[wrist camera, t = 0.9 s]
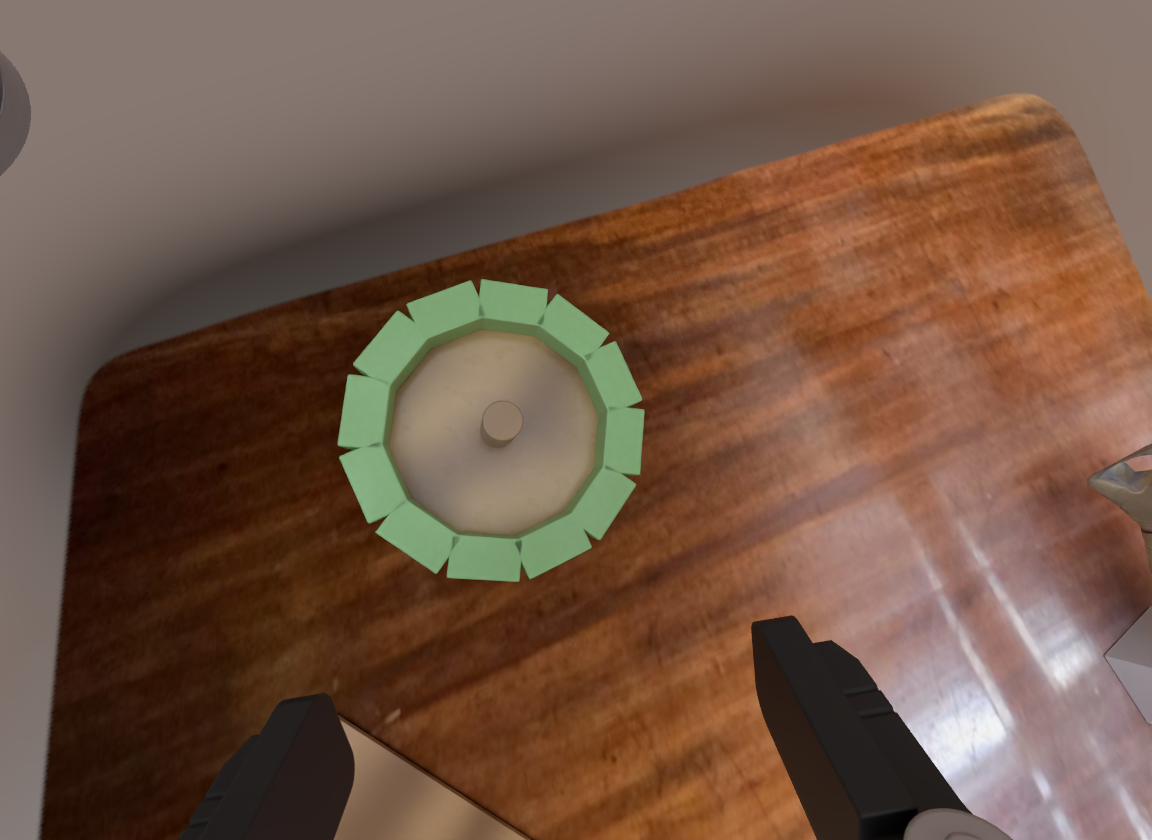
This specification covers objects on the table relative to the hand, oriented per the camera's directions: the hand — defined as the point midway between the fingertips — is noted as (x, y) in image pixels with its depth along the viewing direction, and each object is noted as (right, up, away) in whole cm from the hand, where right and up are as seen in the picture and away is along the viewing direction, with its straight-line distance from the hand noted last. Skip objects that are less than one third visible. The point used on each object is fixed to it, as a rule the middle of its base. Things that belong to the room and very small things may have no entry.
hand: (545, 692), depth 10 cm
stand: (-5, +4, +24) cm, 24 cm away
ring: (-3, +5, +17) cm, 18 cm away
